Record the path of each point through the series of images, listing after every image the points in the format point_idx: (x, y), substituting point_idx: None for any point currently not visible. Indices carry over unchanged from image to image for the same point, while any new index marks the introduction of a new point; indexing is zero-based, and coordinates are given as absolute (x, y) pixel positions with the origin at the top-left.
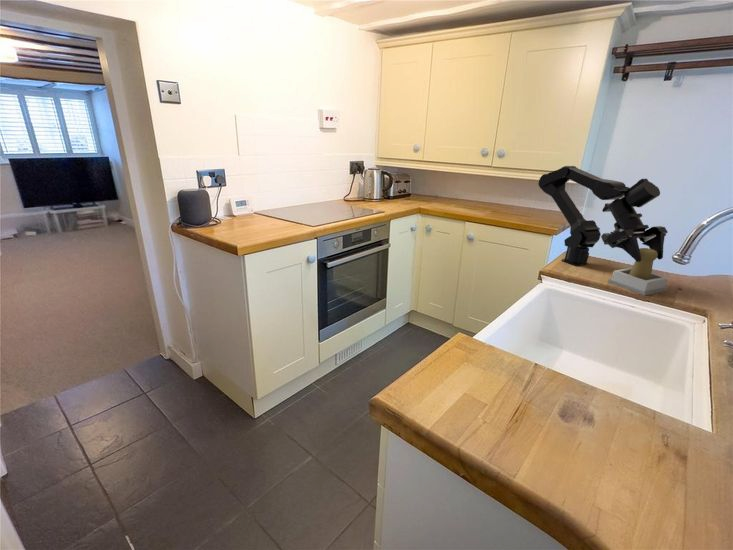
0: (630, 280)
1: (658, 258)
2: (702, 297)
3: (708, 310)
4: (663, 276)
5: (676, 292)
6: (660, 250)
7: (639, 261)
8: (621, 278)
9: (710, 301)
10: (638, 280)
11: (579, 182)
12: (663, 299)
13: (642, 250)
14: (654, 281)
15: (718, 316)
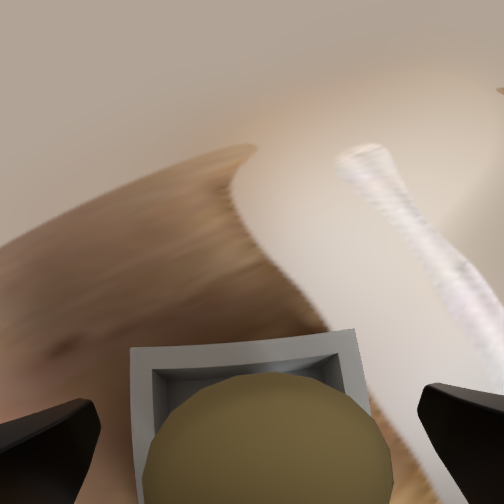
0: None
1: (95, 433)
2: (83, 259)
3: (211, 184)
4: (131, 376)
5: (122, 328)
6: (46, 437)
7: (419, 401)
8: None
9: (103, 228)
10: (362, 380)
11: None
12: (283, 288)
13: (385, 490)
14: (282, 339)
15: (233, 156)
